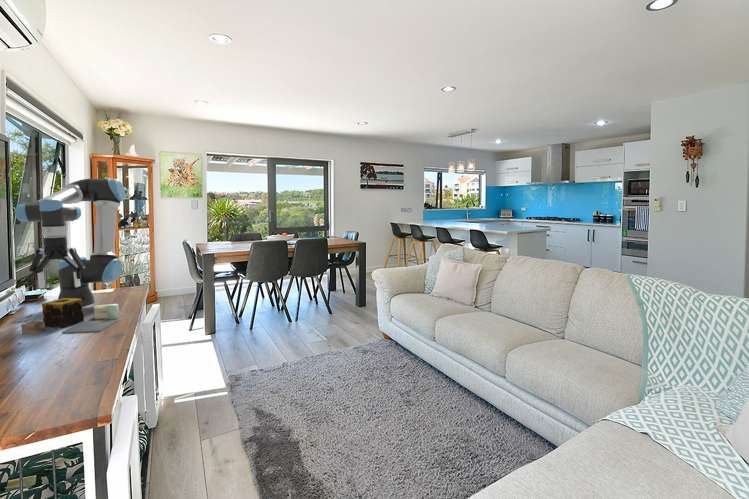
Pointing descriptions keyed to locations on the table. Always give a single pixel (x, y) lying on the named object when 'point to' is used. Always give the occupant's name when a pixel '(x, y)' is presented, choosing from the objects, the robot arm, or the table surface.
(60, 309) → the candle
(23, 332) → the walnut block
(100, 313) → the maple block
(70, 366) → the table surface
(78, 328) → the coaster
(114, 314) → the sage capsule
